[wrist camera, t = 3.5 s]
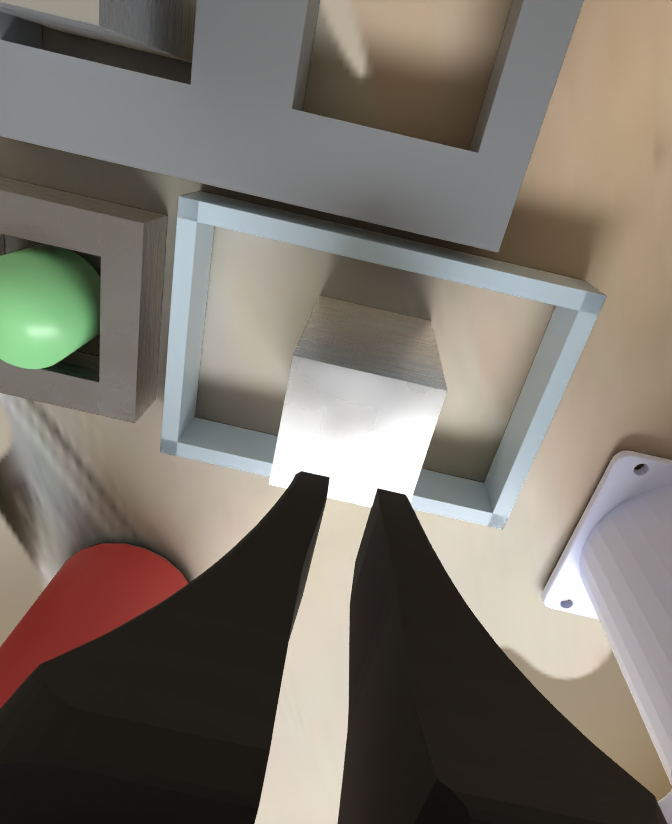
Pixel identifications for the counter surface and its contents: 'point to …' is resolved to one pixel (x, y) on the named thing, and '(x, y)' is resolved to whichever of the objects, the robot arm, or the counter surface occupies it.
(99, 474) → the counter surface
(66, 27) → the block
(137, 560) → the beer can
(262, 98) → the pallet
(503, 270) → the light blue rectangular frame
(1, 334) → the button
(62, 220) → the button housing
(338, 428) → the billet
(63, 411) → the counter surface
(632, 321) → the counter surface
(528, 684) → the robot arm
